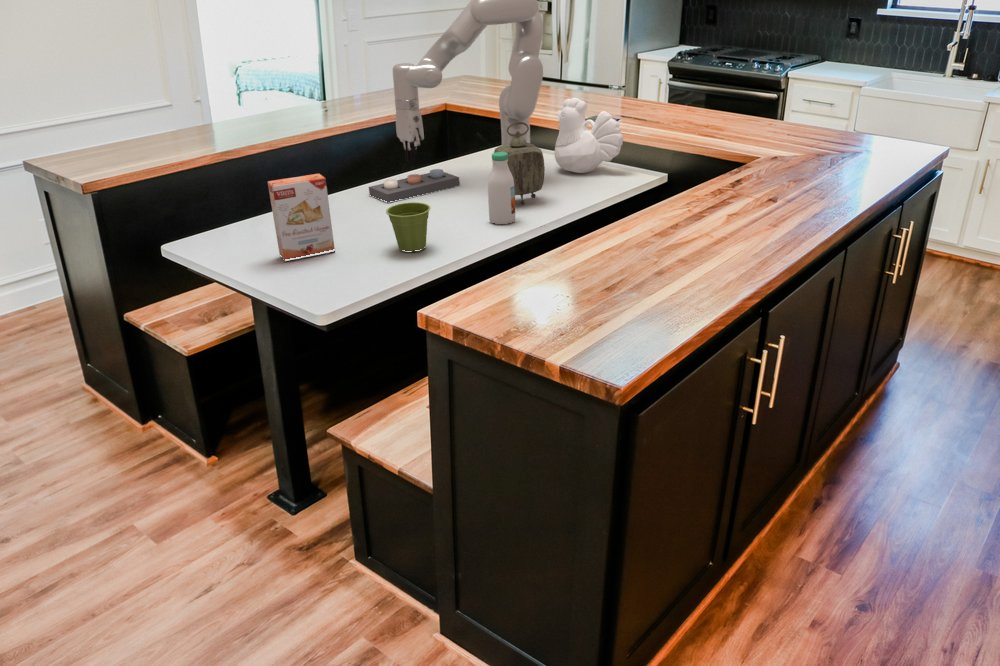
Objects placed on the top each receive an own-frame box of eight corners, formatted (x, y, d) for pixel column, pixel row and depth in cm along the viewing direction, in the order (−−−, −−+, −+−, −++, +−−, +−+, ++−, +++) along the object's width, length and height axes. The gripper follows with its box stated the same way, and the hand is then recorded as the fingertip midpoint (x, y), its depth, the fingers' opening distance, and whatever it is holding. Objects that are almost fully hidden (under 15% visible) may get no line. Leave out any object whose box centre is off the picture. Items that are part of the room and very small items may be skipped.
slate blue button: (446, 179, 268) (445, 170, 266) (435, 182, 265) (434, 173, 264) (438, 177, 271) (438, 168, 269) (428, 179, 268) (427, 170, 267)
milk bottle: (506, 226, 227) (504, 157, 218) (484, 223, 231) (480, 155, 222) (520, 219, 233) (518, 151, 224) (498, 215, 236) (495, 149, 227)
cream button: (400, 190, 258) (399, 181, 257) (389, 193, 255) (388, 184, 254) (393, 187, 261) (392, 178, 260) (382, 190, 259) (381, 181, 257)
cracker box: (285, 263, 208) (271, 185, 198) (279, 256, 212) (266, 180, 203) (336, 253, 213) (325, 177, 204) (330, 246, 218) (319, 172, 209)
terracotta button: (423, 184, 263) (423, 175, 261) (412, 187, 260) (411, 178, 259) (416, 182, 266) (415, 173, 264) (405, 184, 263) (404, 176, 262)
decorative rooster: (545, 171, 279) (544, 99, 268) (575, 162, 289) (575, 92, 278) (599, 183, 263) (600, 107, 252) (629, 173, 272) (631, 100, 261)
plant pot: (395, 241, 220) (391, 202, 215) (437, 241, 218) (434, 201, 213) (385, 256, 209) (381, 216, 204) (429, 256, 208) (426, 215, 203)
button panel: (459, 185, 267) (459, 177, 266) (388, 203, 252) (387, 194, 251) (439, 179, 276) (439, 170, 274) (369, 195, 261) (368, 186, 259)
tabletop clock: (537, 196, 253) (535, 117, 241) (547, 204, 245) (546, 122, 234) (494, 202, 249) (490, 121, 238) (502, 210, 241) (499, 127, 230)
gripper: (429, 106, 248) (433, 163, 256) (404, 100, 259) (408, 155, 267) (409, 109, 244) (413, 167, 252) (384, 103, 255) (389, 159, 263)
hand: (411, 161), depth 259 cm, fingers closed
